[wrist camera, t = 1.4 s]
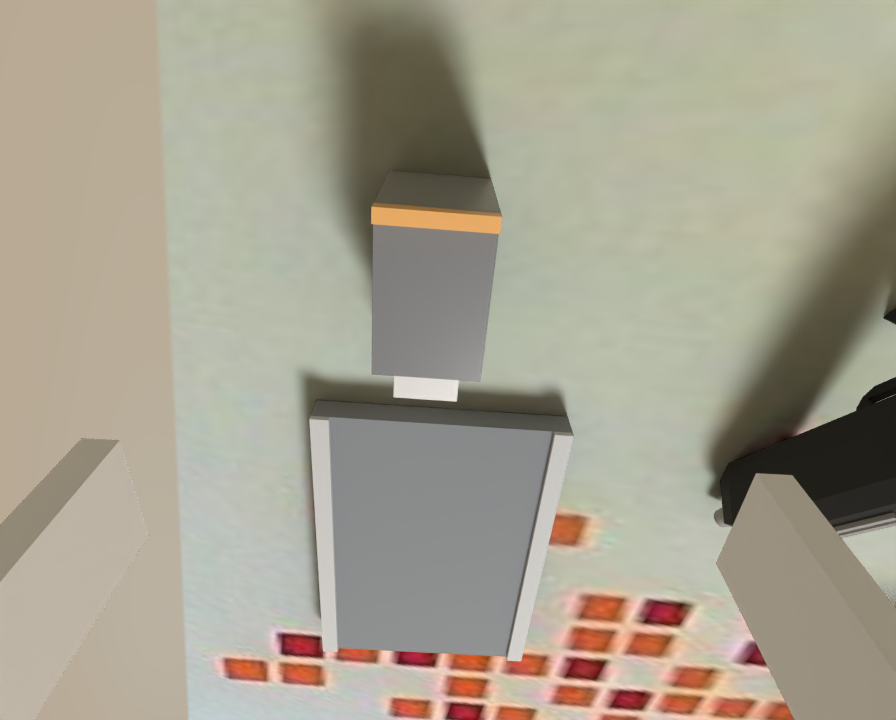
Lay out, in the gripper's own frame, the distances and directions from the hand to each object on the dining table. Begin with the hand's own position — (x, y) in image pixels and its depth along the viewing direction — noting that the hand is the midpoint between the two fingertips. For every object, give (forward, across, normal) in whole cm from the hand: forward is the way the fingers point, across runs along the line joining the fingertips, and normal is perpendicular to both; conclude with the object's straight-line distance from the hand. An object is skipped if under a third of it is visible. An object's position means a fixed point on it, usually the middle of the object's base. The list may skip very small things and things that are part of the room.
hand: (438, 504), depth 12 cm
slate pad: (+16, 0, -19) cm, 25 cm away
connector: (+17, -1, -1) cm, 17 cm away
